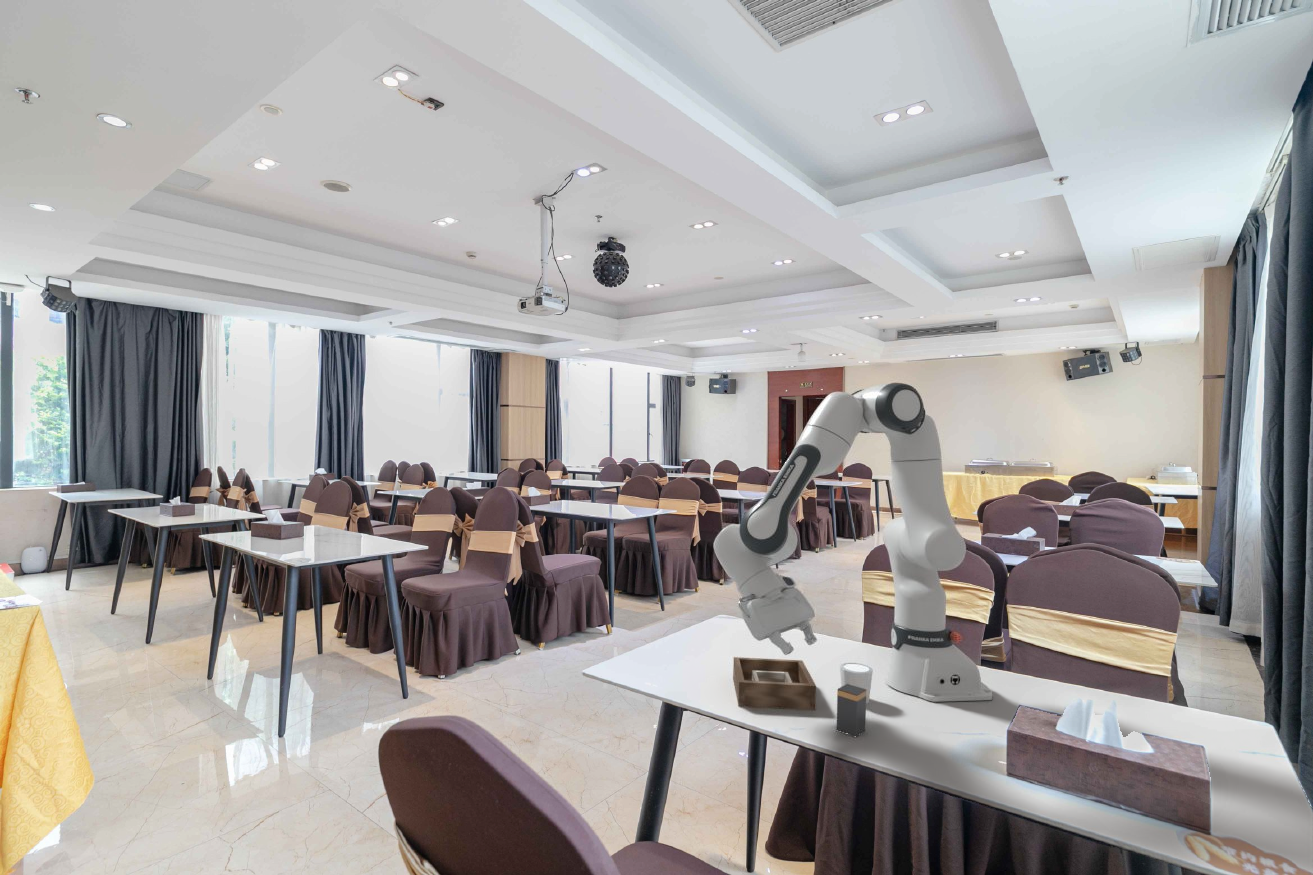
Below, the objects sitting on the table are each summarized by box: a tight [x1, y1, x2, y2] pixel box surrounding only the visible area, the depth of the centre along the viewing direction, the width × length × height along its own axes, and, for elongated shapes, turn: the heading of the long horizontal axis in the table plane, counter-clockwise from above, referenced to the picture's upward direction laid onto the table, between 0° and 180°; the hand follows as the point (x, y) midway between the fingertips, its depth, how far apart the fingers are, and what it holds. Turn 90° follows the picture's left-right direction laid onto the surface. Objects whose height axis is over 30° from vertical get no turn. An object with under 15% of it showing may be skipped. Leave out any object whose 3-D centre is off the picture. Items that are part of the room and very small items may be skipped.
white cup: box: [839, 662, 873, 705], centre depth 138 cm, size 7×7×7 cm
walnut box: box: [732, 656, 817, 711], centre depth 140 cm, size 16×16×5 cm
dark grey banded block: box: [836, 684, 867, 738], centre depth 122 cm, size 4×4×8 cm
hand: (802, 647), depth 130 cm, fingers open, 8 cm apart
